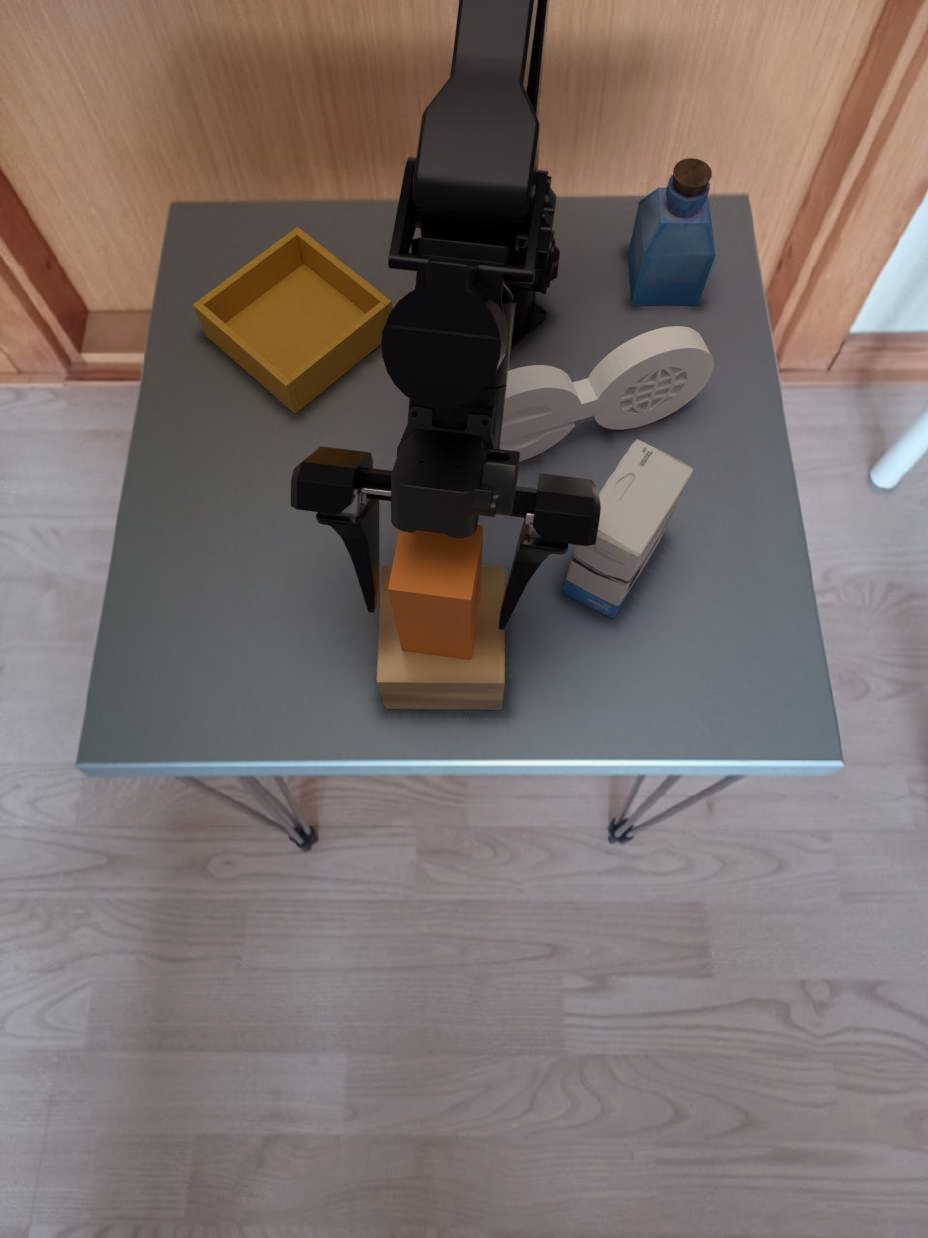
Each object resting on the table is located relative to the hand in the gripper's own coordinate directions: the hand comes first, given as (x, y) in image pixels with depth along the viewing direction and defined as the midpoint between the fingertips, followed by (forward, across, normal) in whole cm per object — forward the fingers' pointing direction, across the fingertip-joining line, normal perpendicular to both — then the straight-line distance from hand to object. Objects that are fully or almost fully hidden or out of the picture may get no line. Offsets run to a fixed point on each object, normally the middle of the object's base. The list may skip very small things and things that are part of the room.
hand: (436, 619), depth 58 cm
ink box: (0, +12, +16) cm, 20 cm away
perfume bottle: (-21, +15, +37) cm, 45 cm away
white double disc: (-8, +8, +24) cm, 27 cm away
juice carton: (+2, 0, +4) cm, 4 cm away
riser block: (+7, 0, +9) cm, 11 cm away
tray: (-14, -18, +29) cm, 37 cm away
